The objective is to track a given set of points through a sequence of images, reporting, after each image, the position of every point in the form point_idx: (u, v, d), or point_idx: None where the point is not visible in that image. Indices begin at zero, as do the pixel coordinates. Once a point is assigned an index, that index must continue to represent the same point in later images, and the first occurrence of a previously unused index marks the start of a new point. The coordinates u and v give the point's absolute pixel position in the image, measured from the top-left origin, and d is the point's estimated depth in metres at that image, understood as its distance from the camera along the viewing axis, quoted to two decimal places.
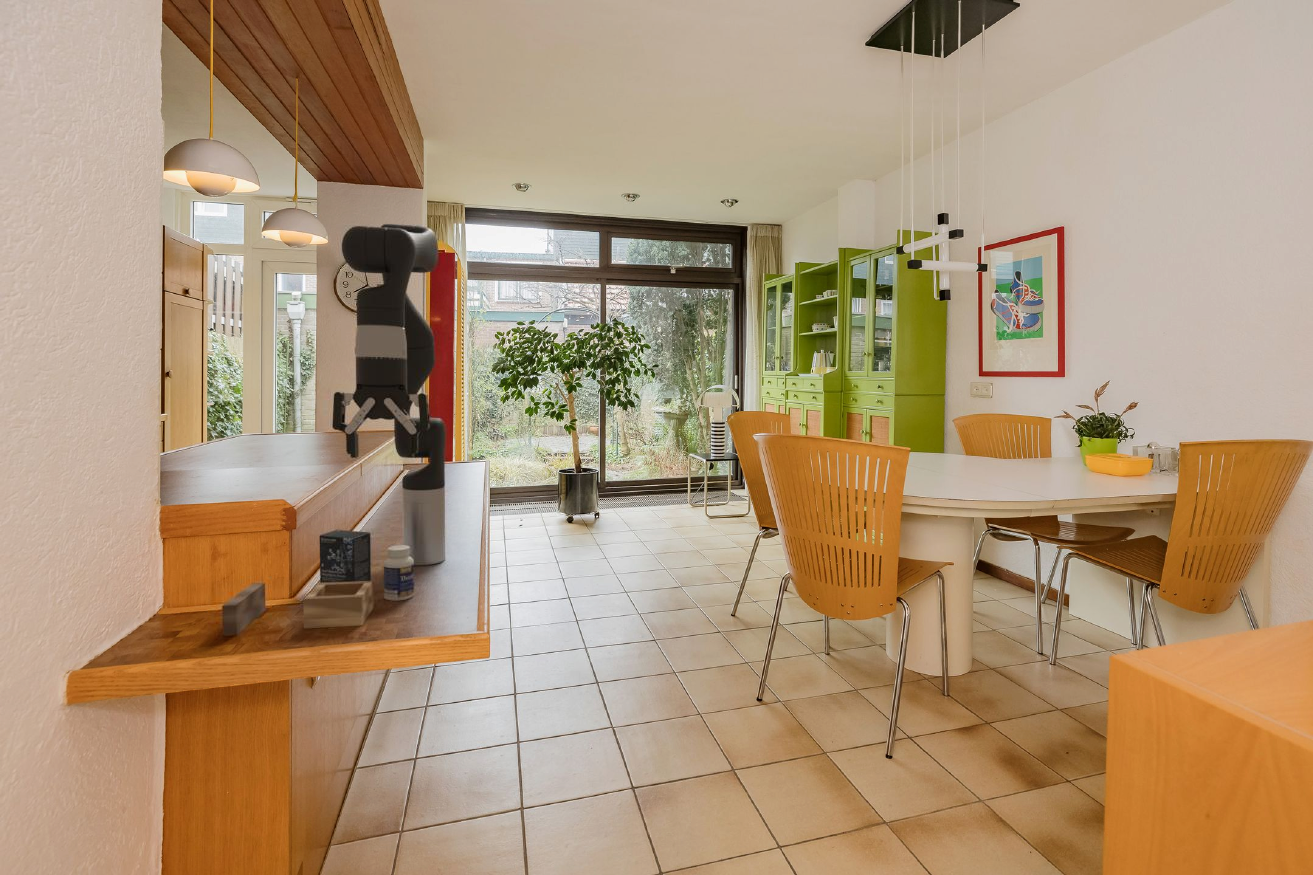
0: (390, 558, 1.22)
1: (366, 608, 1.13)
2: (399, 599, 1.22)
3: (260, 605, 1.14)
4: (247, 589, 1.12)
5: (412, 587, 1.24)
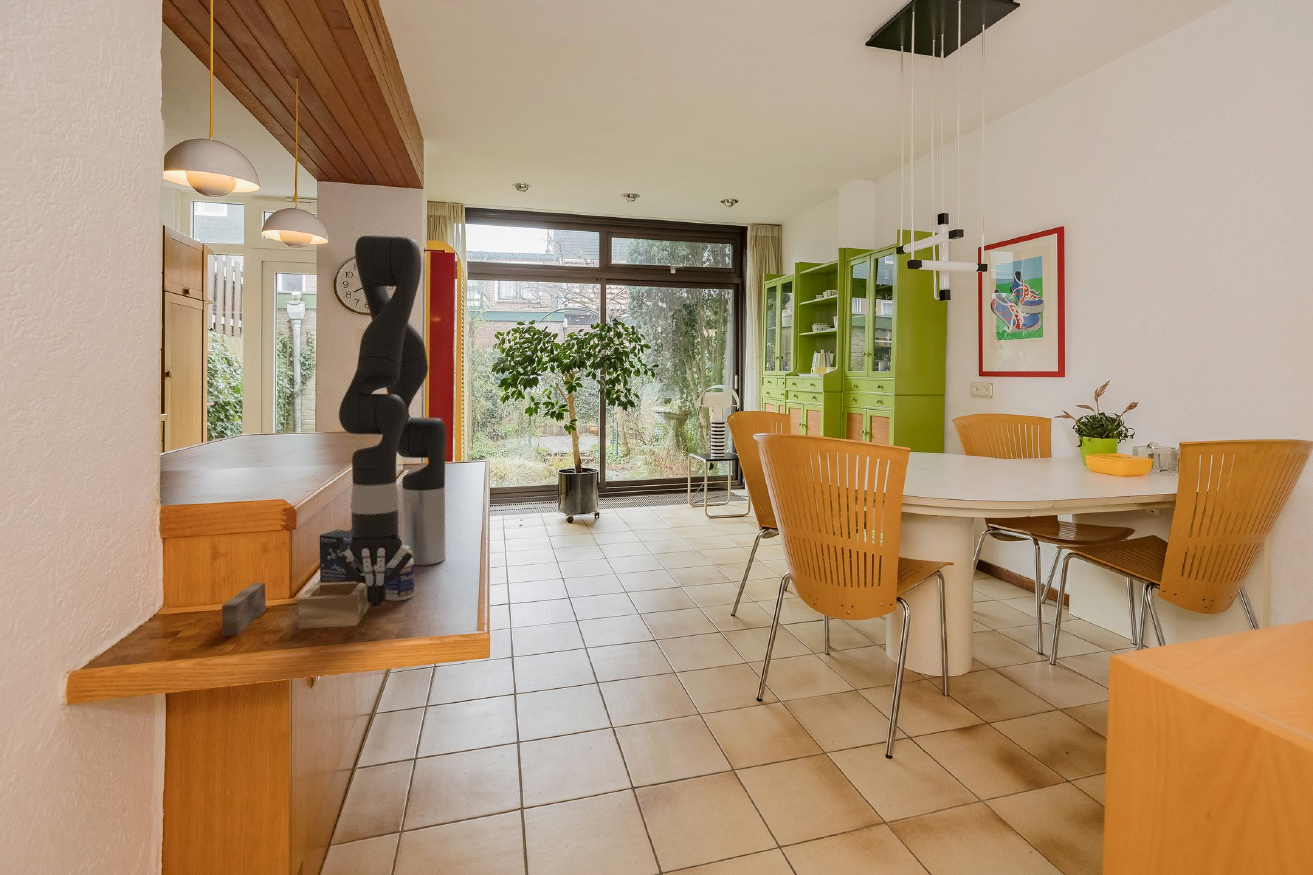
0: None
1: (361, 608, 1.13)
2: (399, 599, 1.22)
3: (260, 605, 1.14)
4: (247, 589, 1.12)
5: (412, 587, 1.24)
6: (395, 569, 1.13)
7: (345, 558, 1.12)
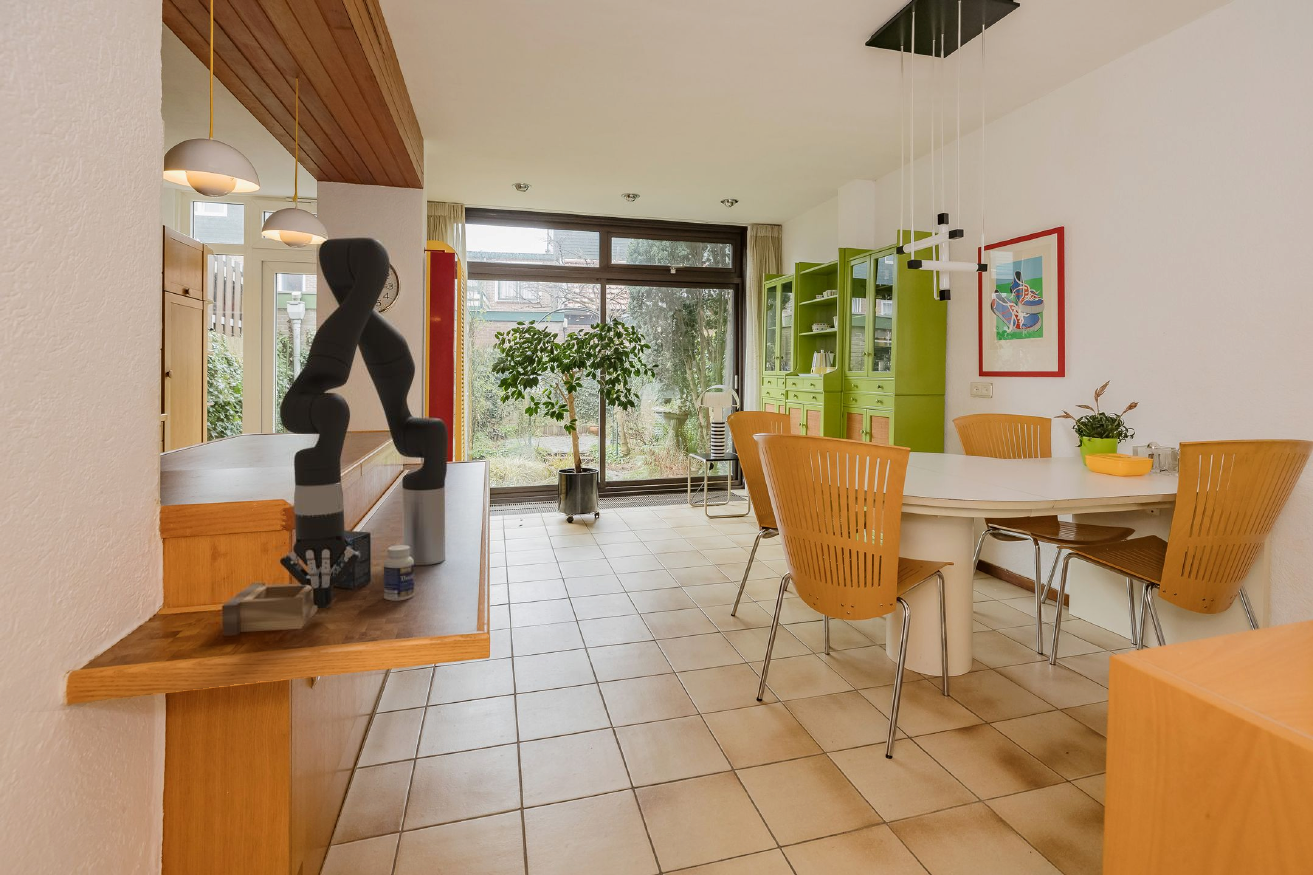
0: (390, 558, 1.22)
1: (307, 611, 1.11)
2: (399, 599, 1.22)
3: None
4: (247, 589, 1.12)
5: (412, 587, 1.24)
6: (341, 571, 1.11)
7: (289, 560, 1.10)
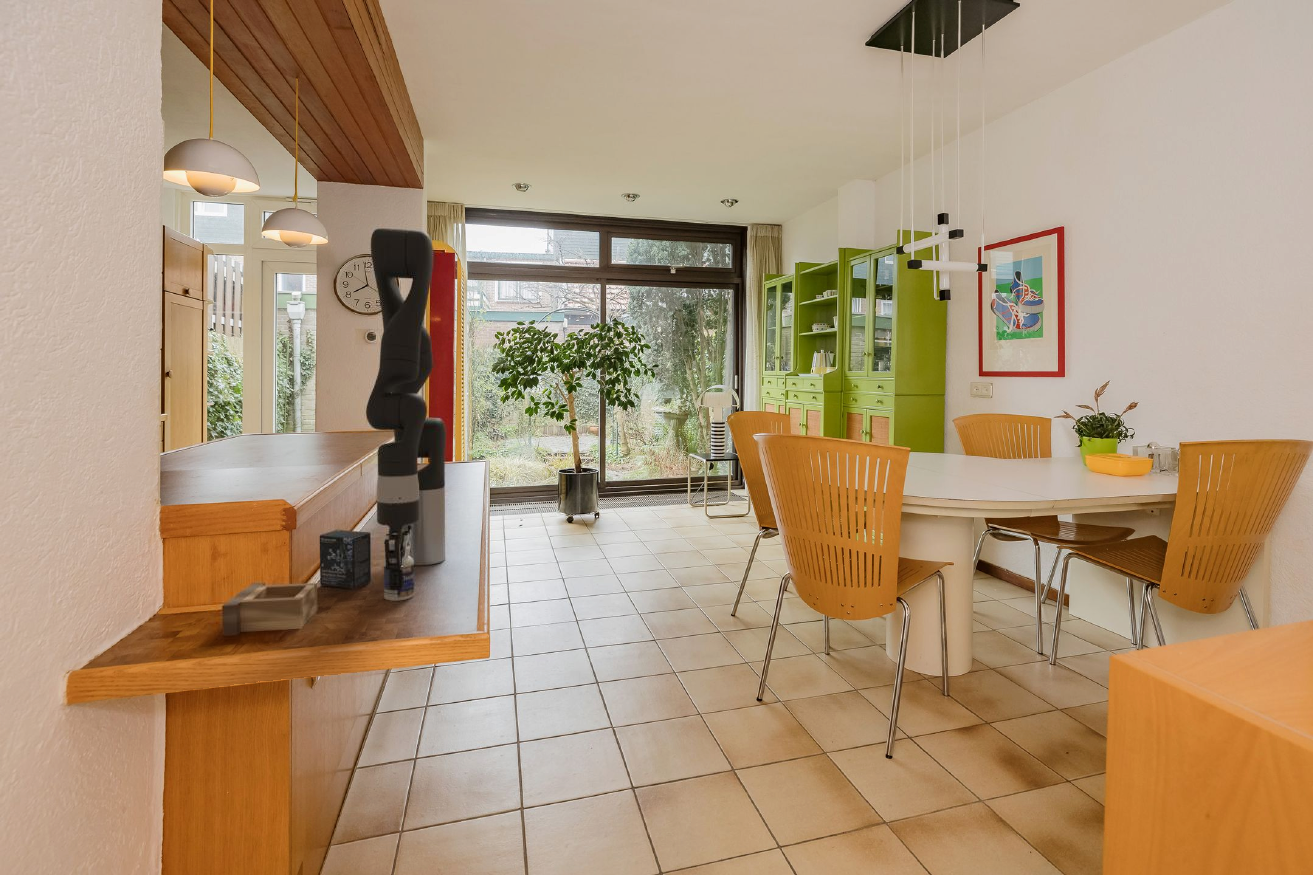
0: None
1: (307, 611, 1.11)
2: (399, 599, 1.22)
3: None
4: (247, 589, 1.12)
5: (412, 587, 1.24)
6: None
7: None
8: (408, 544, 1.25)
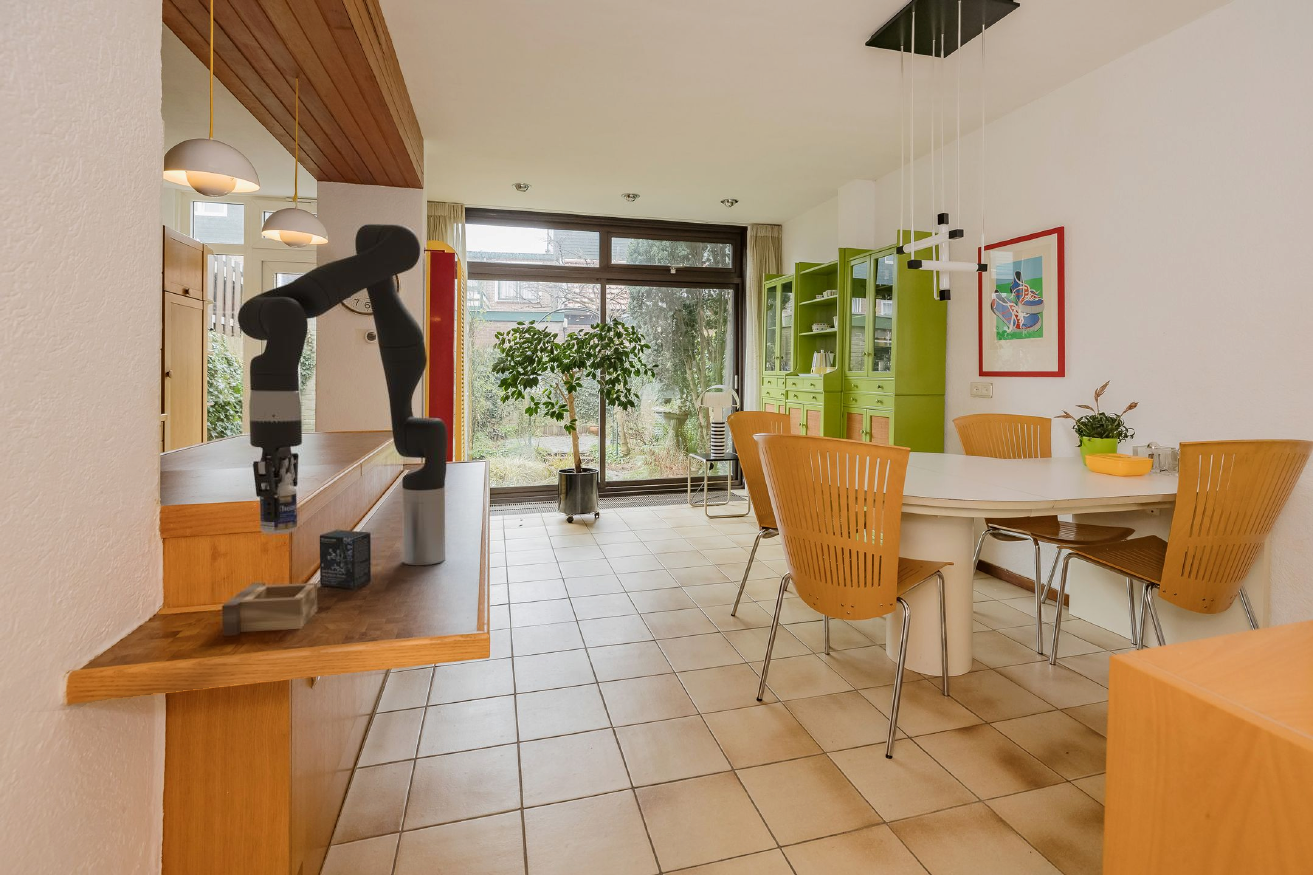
0: None
1: (307, 611, 1.11)
2: (276, 532, 1.07)
3: None
4: (247, 589, 1.12)
5: (293, 520, 1.09)
6: None
7: None
8: (290, 472, 1.11)
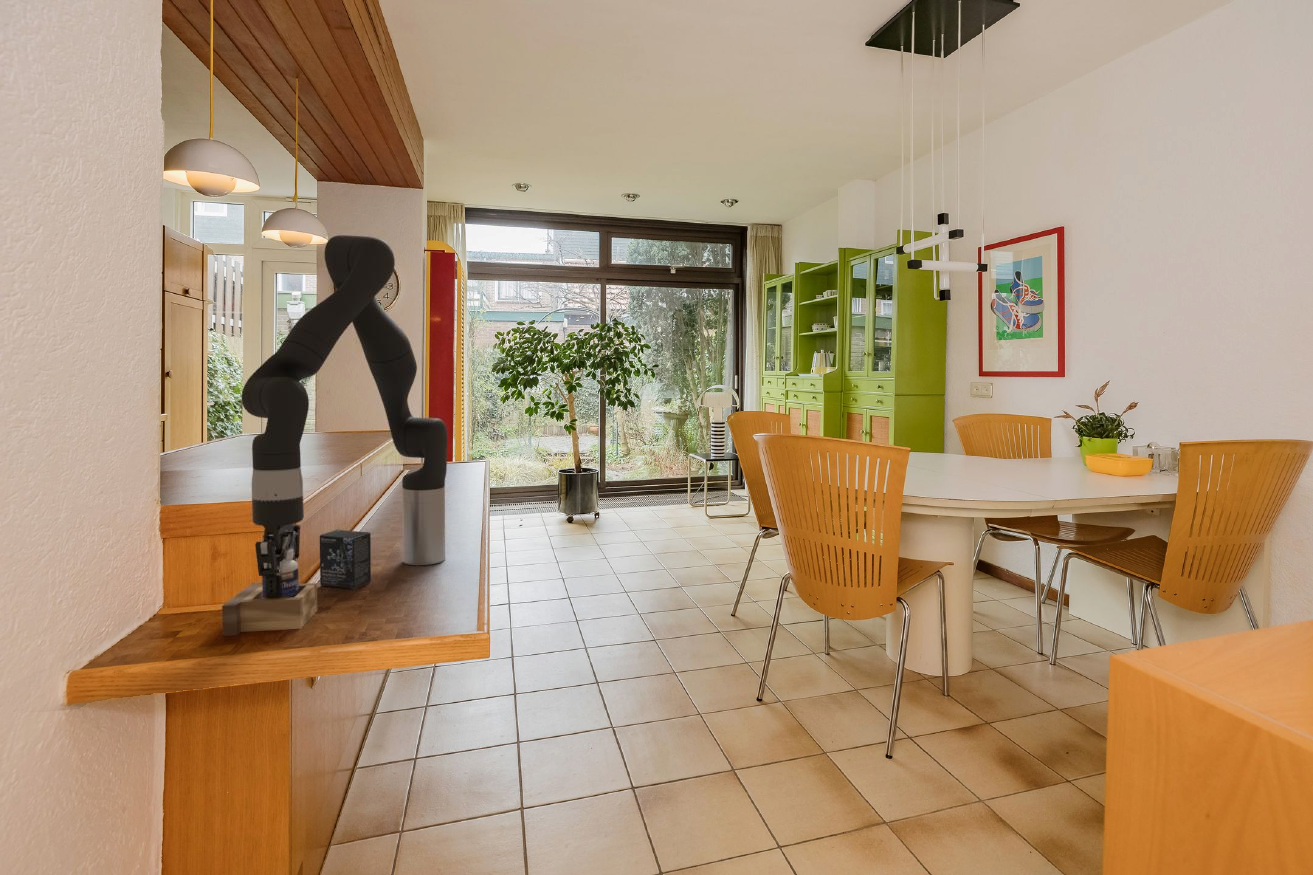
0: None
1: (307, 611, 1.11)
2: None
3: None
4: (247, 589, 1.12)
5: (295, 595, 1.10)
6: None
7: None
8: (292, 546, 1.12)
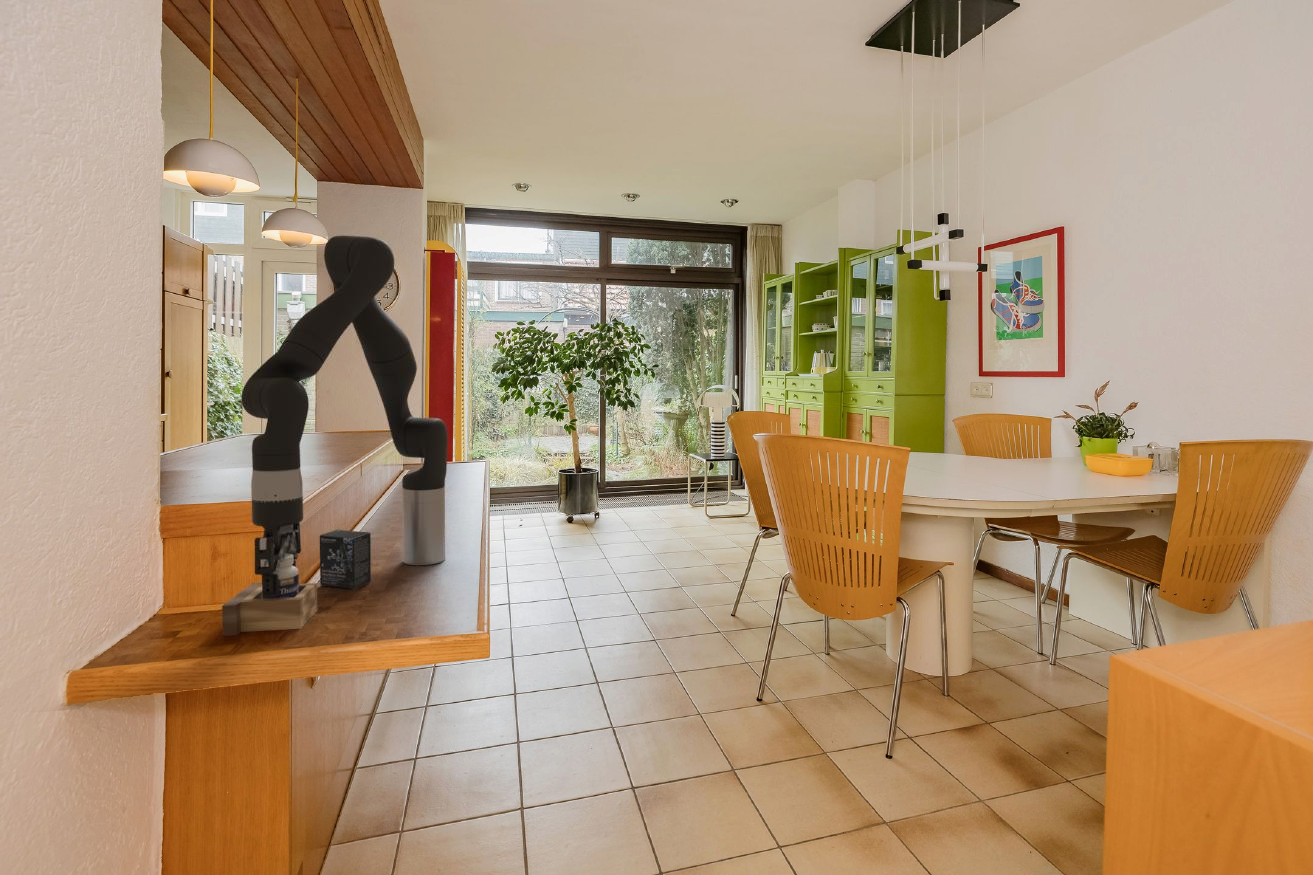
0: None
1: (307, 611, 1.11)
2: None
3: None
4: (247, 589, 1.12)
5: None
6: None
7: None
8: (293, 546, 1.12)
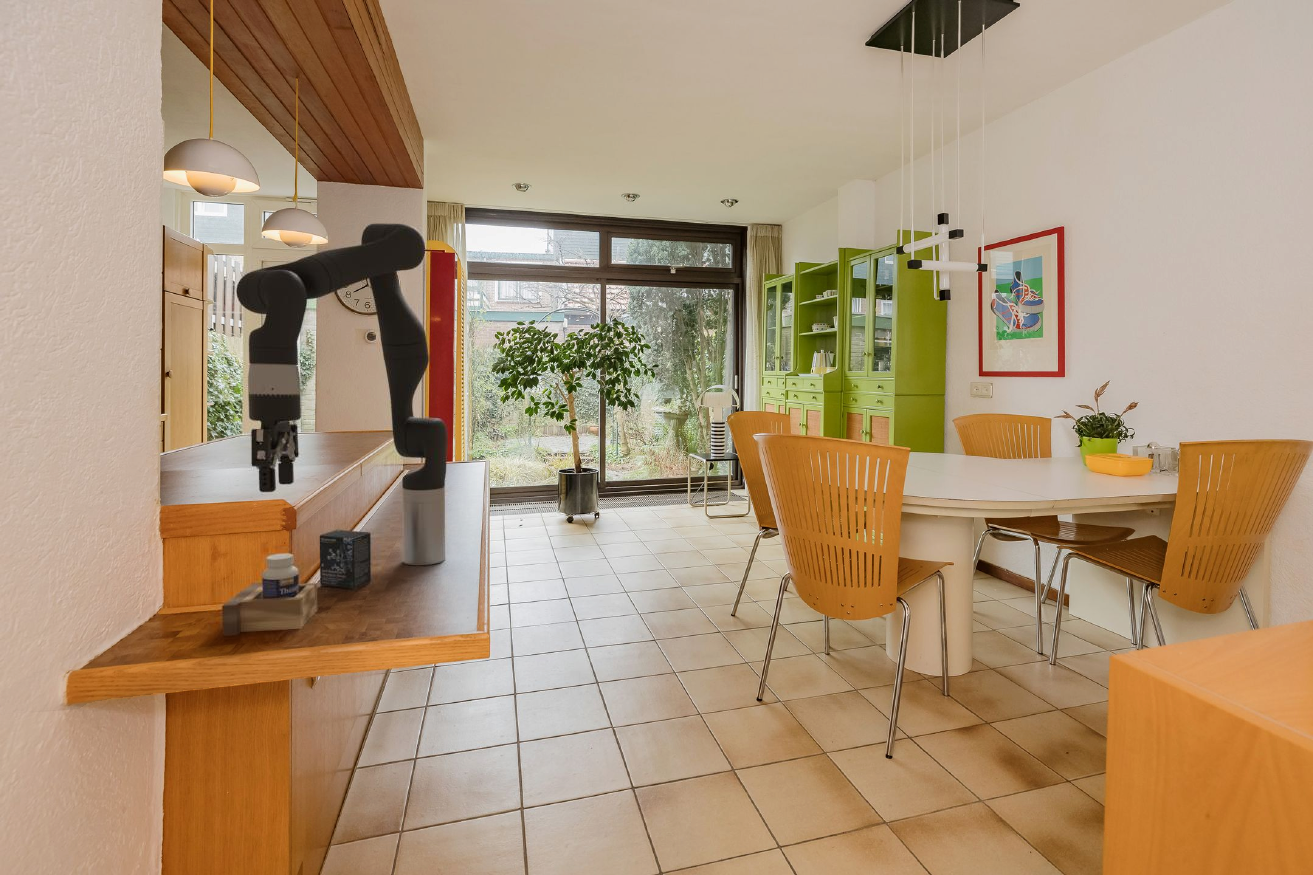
0: (269, 568, 1.09)
1: (307, 611, 1.11)
2: None
3: None
4: (247, 589, 1.12)
5: None
6: None
7: None
8: (290, 446, 1.11)
